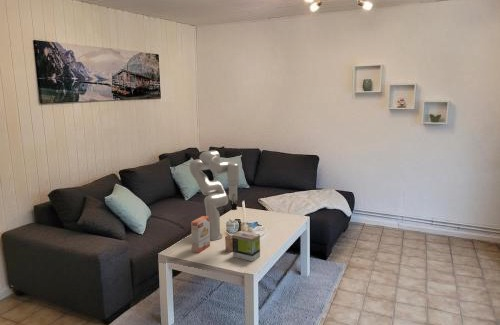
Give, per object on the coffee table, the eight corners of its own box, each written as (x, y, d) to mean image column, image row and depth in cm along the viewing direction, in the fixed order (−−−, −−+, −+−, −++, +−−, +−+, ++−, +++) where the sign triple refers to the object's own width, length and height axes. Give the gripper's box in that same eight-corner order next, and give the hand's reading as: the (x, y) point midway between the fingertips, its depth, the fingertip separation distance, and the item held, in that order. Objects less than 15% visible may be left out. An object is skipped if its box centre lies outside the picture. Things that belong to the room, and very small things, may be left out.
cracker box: (199, 253, 251) (198, 223, 247) (191, 252, 254) (190, 221, 250) (210, 245, 264) (209, 216, 260) (203, 244, 266) (202, 215, 262)
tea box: (260, 256, 247) (260, 234, 244) (252, 262, 238) (251, 239, 236) (240, 251, 255) (240, 229, 252) (232, 256, 246) (231, 234, 244)
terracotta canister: (225, 252, 253) (225, 239, 252) (225, 248, 259) (224, 235, 258) (234, 251, 254) (234, 238, 252) (234, 247, 260) (234, 235, 258)
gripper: (226, 179, 258) (226, 204, 261) (228, 185, 241) (228, 212, 244) (237, 179, 259) (237, 203, 262) (240, 185, 242) (240, 211, 245)
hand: (233, 207), depth 253 cm, fingers open, 9 cm apart
